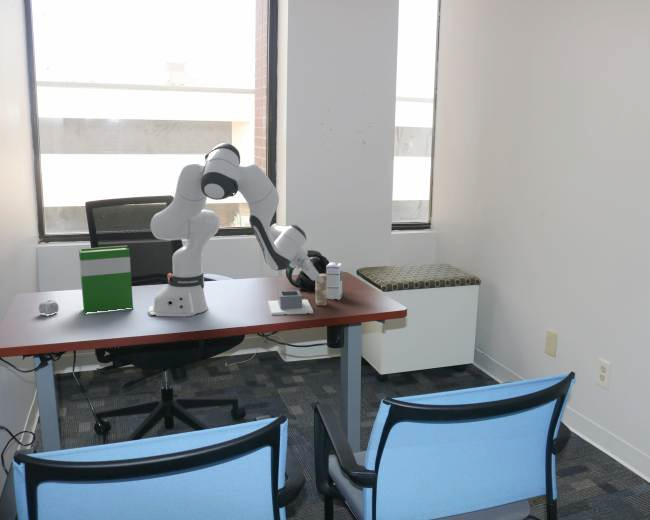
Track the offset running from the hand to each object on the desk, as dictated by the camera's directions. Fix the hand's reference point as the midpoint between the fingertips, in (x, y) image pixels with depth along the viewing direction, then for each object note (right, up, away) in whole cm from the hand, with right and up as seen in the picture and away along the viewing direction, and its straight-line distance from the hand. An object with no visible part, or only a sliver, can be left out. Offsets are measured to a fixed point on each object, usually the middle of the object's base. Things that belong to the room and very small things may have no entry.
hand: (321, 280), depth 250 cm
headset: (-5, -4, +26) cm, 27 cm away
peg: (0, -10, +2) cm, 10 cm away
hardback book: (-83, -11, -7) cm, 84 cm away
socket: (-12, -11, -4) cm, 17 cm away
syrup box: (+5, -8, +11) cm, 15 cm away
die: (-103, -13, -13) cm, 105 cm away
